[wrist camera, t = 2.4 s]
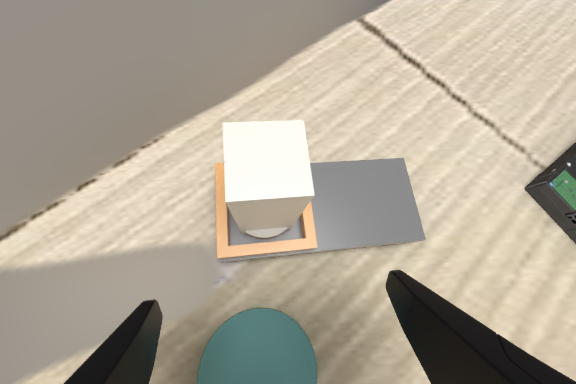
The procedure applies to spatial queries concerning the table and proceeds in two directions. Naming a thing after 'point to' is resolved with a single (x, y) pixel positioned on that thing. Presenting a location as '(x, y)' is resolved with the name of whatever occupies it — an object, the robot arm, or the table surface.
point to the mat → (258, 351)
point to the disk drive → (558, 191)
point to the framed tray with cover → (332, 213)
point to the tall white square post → (266, 175)
